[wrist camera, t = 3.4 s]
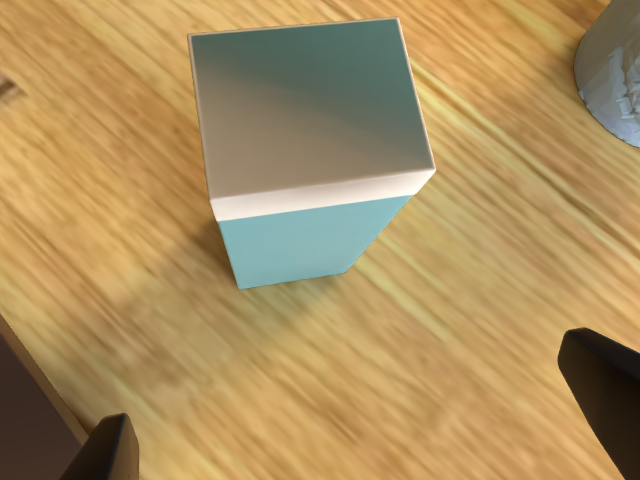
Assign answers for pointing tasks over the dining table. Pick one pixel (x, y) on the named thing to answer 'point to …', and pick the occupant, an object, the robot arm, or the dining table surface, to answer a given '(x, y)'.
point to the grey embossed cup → (612, 69)
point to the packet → (307, 142)
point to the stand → (32, 418)
